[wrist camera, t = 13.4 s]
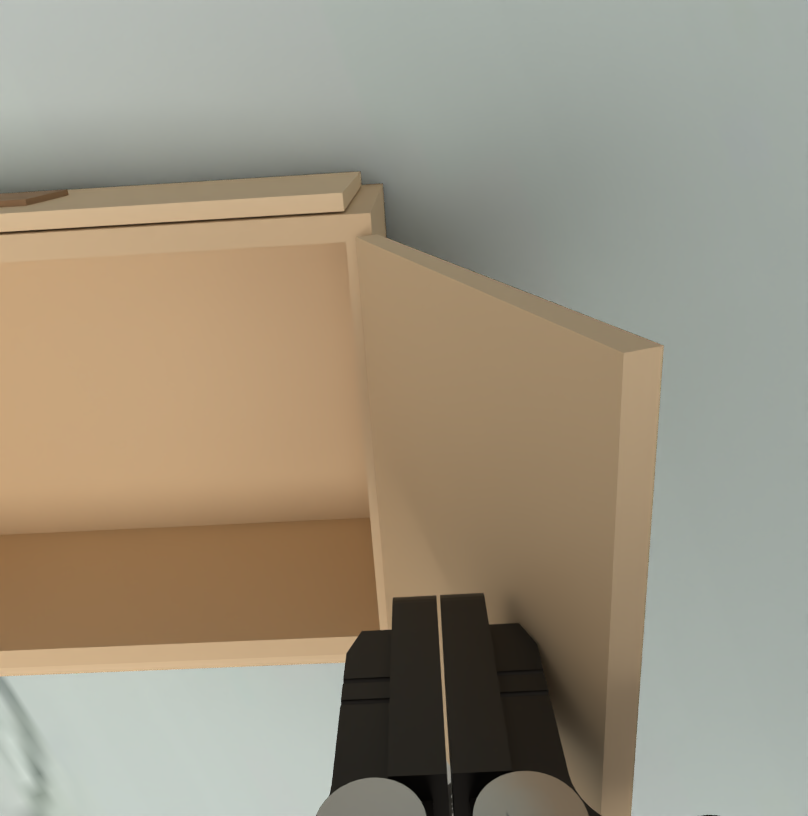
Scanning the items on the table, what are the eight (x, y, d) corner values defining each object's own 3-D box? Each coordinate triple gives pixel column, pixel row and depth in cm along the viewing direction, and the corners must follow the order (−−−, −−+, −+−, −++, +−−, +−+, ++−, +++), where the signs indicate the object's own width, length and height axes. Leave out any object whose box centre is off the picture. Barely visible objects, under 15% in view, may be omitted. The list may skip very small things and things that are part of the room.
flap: (377, 234, 16) (664, 345, 8) (407, 651, 20) (617, 1012, 12) (355, 237, 16) (623, 353, 8) (390, 656, 20) (590, 1025, 12)
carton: (381, 163, 23) (368, 184, 16) (406, 534, 28) (404, 664, 21) (-131, 195, 23) (-341, 228, 17) (-19, 553, 28) (-148, 687, 22)
